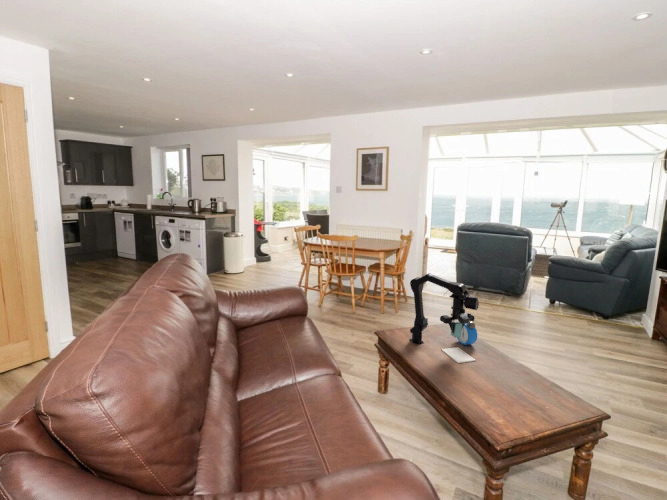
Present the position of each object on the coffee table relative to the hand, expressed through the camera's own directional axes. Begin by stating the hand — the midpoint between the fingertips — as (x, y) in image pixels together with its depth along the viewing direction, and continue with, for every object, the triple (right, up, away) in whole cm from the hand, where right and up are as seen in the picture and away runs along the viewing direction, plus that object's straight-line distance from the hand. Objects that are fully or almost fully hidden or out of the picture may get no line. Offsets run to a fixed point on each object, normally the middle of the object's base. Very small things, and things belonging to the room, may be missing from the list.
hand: (456, 332), depth 202 cm
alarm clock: (+11, -10, +15) cm, 21 cm away
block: (0, -2, 0) cm, 2 cm away
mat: (+1, -13, -1) cm, 13 cm away
